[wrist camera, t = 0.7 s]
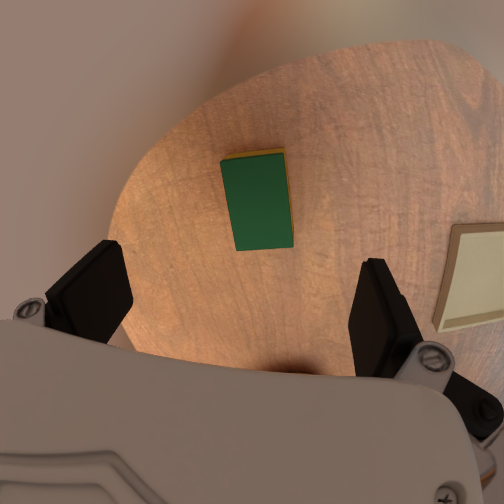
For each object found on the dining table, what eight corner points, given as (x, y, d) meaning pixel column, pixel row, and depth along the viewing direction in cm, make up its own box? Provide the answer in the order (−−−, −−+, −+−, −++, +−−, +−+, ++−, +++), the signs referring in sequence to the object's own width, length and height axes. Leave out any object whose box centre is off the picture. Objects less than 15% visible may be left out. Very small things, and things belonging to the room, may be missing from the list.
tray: (452, 224, 25) (461, 233, 23) (548, 221, 22) (557, 228, 20) (432, 322, 31) (437, 333, 29) (523, 304, 28) (529, 313, 26)
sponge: (228, 154, 25) (219, 161, 22) (284, 147, 25) (283, 154, 21) (242, 234, 29) (236, 251, 26) (293, 230, 28) (293, 247, 25)
